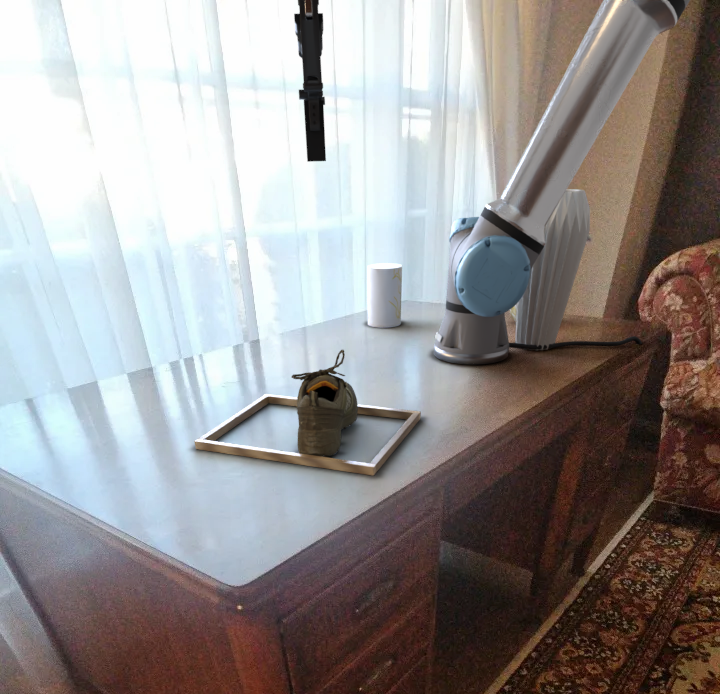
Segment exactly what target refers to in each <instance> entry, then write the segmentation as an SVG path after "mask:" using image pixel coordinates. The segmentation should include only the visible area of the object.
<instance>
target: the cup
mask: <svg viewBox="0 0 720 694" xmlns="http://www.w3.org/2000/svg"><path fill="white" fill-rule="evenodd" d="M366 267H367V268H366V275H367V276H366V277H367V278H366V280H367V290H366V291H367V325H368V326H369V327H371V328H372V327H373V328H381V329H382V328H383V329H384V328H394V327H399V326H400V325H402V295H403V293H402V291H403V290H402V289H403V265H402V264H400V263H393V262H381V263H372V264H368V265H367V266H366Z"/></svg>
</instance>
